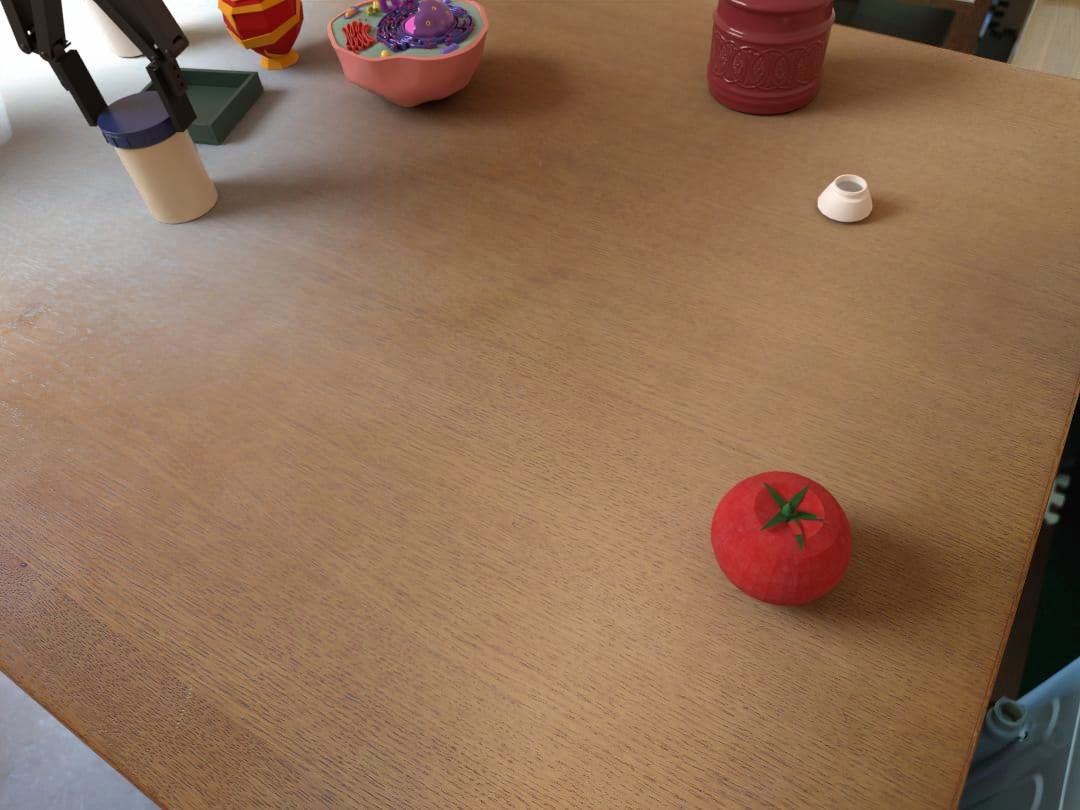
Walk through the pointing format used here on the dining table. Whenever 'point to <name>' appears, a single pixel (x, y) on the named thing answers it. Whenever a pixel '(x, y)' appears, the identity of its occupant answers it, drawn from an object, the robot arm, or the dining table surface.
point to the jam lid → (136, 121)
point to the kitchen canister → (768, 53)
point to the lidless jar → (846, 199)
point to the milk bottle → (112, 33)
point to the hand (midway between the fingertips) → (143, 121)
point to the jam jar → (171, 178)
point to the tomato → (781, 538)
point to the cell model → (410, 47)
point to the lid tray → (218, 100)
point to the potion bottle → (265, 28)
